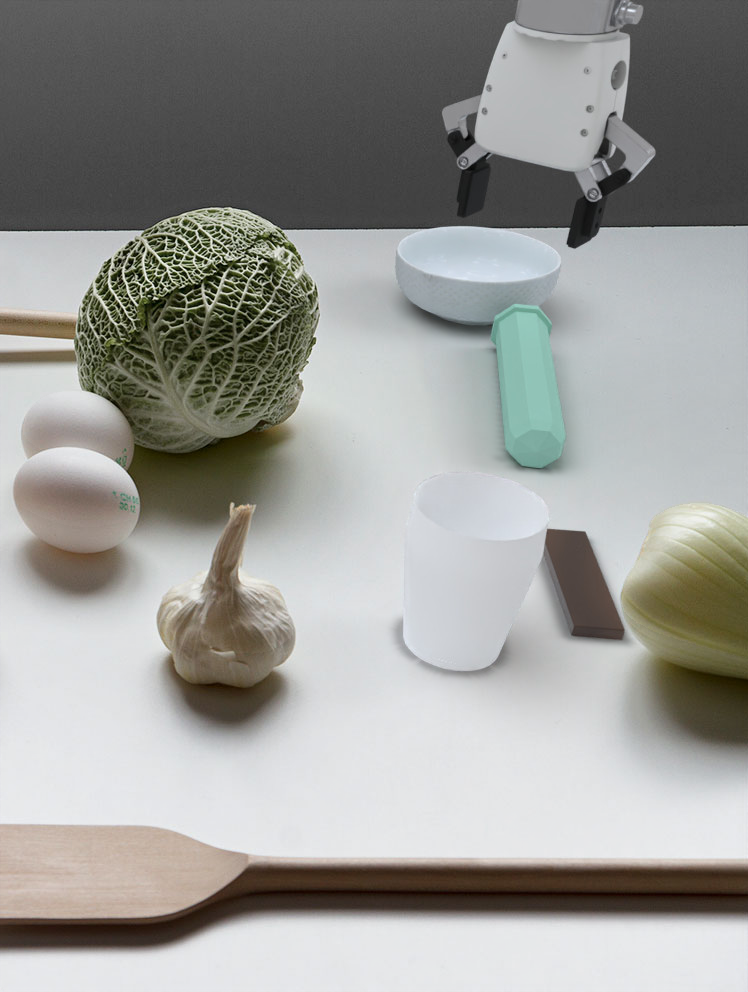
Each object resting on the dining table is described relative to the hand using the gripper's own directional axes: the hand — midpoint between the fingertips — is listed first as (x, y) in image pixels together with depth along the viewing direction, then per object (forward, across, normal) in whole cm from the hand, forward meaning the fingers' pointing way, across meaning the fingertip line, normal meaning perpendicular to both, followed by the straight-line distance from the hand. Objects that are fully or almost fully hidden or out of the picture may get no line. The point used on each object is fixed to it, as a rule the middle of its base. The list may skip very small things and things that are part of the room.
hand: (522, 228), depth 107 cm
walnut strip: (+21, -17, +14) cm, 30 cm away
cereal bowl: (+21, +16, -26) cm, 37 cm away
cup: (+21, -14, +28) cm, 37 cm away
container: (+21, +1, -9) cm, 23 cm away
